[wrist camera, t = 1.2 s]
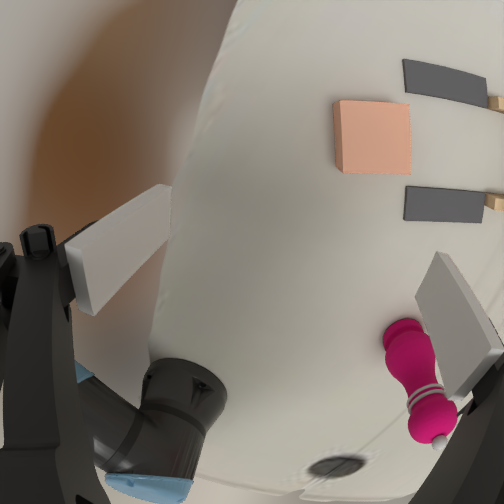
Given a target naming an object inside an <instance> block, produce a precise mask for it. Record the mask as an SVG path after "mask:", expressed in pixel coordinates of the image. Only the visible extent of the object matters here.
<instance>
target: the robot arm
mask: <svg viewBox="0 0 504 504" xmlns="http://www.w3.org/2000/svg"><path fill="white" fill-rule="evenodd" d="M171 197H172V186H167V185H161V184H157V185H155V186H154V187H152V188H151V189H149V190H147V191H145V192H143V193H142V194H140V195H138V196H137V197H135V198H133V199H132V200H130V201H129V202H127V203H125V204H124V205H122V206H121V207H119V208H117V209H116V210H114V211H113V212H111V213H110V214H108V215H107V216H105V217H103V218H102V219H100V220H97V221H95V222H92V223H89V224H88V225H87V226H85V227H83V228H82V229H81V230H79V231H77V232H76V233H75V234H73V235H72V236H70V237H69V238H67V239H66V240H64V241H63V242H61V243H60V244H59V245H57V246H56V241H55V236H54V230H53V227H52V226H51V225H48V224H38V225H33V226H31V227H29V228H26V229H25V230H24V231H22V233H21V234H20V240H21V245H22V249H23V253H24V256H20V255H15V253H14V249H13V245H12V244H11V243H8V242H3V243H2V242H0V390H1V387H2V383H3V380H4V384H3V427H4V446H3V448H1V449H0V504H111V503H110V501H109V498H108V496H107V494H106V492H105V491H104V489H103V487H102V485H101V484H100V481H99V479H98V476H97V473H96V469H95V466H97V467H99V468H100V469H102V470H104V471H105V472H107V474H105V482H106V483H107V484H108V485H109V486H111V487H112V488H114V489H115V490H118V491H120V492H122V493H124V494H127V495H129V496H132V497H135V498H138V499H141V500H145V501H149V502H153V503H159V504H179V503H182V502H183V501H184V500H185V499H186V497H187V495H188V493H189V490H190V488H191V485H192V484H193V482H194V481H193V478H194V475H195V471H196V468H197V464H198V461H199V457H200V454H201V450H202V447H203V443H204V439H205V436H206V433H207V431H208V430H209V429H210V427H211V426H212V425H213V424H214V422H215V421H216V420H217V418H218V417H219V416H220V415H221V413H222V412H223V410H224V407H225V403H226V399H227V393H226V390H225V388H224V386H223V384H222V383H221V382H220V380H219V379H218V378H217V377H216V376H214V375H213V374H212V373H211V372H209V371H208V370H206V369H204V368H202V367H200V366H198V365H196V364H194V363H191V362H188V361H184V360H179V359H162V360H158V361H156V362H154V363H152V364H151V365H150V367H149V368H148V370H147V372H146V374H145V375H144V379H143V385H142V395H141V405H140V408H139V409H137V408H136V407H135V406H133V405H132V404H130V403H129V402H127V401H126V400H125V399H123V398H122V397H120V396H119V395H118V394H117V393H115V392H114V391H113V390H111V389H110V388H109V387H107V386H106V385H105V384H104V383H102V382H101V381H100V380H99V379H98V378H96V377H95V376H94V373H92V372H89V371H88V370H87V369H86V368H84V367H83V366H82V365H80V364H79V363H78V362H77V361H75V360H74V349H73V336H72V316H71V308H70V304H69V303H70V302H71V301H72V300H73V299H74V298H76V302H77V306H78V309H79V310H80V311H82V312H84V313H86V314H89V315H91V316H93V317H94V316H95V315H96V314H97V313H98V312H99V311H100V310H101V309H102V307H103V306H104V305H105V304H106V303H107V302H108V301H109V300H110V299H111V298H112V296H113V295H114V294H115V293H116V292H117V291H118V290H119V289H120V288H121V286H123V285H124V283H125V282H126V281H127V280H128V279H129V278H130V277H131V276H132V275H133V274H134V273H135V272H136V271H137V270H138V269H139V268H140V267H141V266H142V265H143V264H144V262H146V260H148V258H149V257H150V256H151V255H152V254H153V253H154V252H155V251H156V250H157V249H158V248H159V247H160V246H161V245H162V244H163V243H164V242H165V241H166V240H167V239H168V238H169V237H170V218H171ZM415 298H416V301H417V303H418V306H419V309H420V311H421V314H422V317H423V320H424V322H425V325H426V328H427V331H428V334H429V337H430V340H431V343H432V346H433V349H434V352H435V356H436V359H437V362H438V366H439V369H440V373H441V376H442V380H443V384H444V387H445V391H446V395H447V399H448V400H458V401H462V400H463V399H464V398H465V397H466V396H467V395H468V393H469V392H470V391H471V390H472V393H473V398H472V399H471V400H470V401H469V403H468V404H467V405H466V406H465V407H463V408H462V409H461V410H460V411H459V412H458V414H457V415H456V416H457V417H458V416H459V415H460V414H463V415H462V417H461V419H460V421H459V423H458V425H457V427H456V429H455V431H454V433H453V435H452V437H451V438H450V440H449V442H448V444H447V446H446V447H445V449H444V451H443V453H442V454H441V456H440V458H439V459H438V461H437V463H436V464H435V466H434V467H433V469H432V471H431V472H430V474H429V475H428V477H427V478H426V480H425V481H424V483H423V484H422V486H421V487H420V488H419V490H418V491H417V493H416V494H415V496H414V497H413V498H412V499H411V501H410V502H409V503H408V504H504V345H503V343H502V341H501V339H500V337H499V336H498V333H497V331H496V329H494V328H495V327H494V326H493V324H492V322H491V320H490V319H489V318H488V316H487V315H486V313H485V311H484V309H483V308H482V306H481V304H480V302H479V301H478V299H477V297H476V296H475V294H474V293H473V291H472V289H471V288H470V286H469V285H468V283H467V281H466V280H465V278H464V277H463V275H462V274H461V272H460V271H459V269H458V268H457V266H456V265H455V263H454V262H453V261H452V259H451V258H450V256H449V255H448V254H445V253H442V252H438V251H436V253H435V256H434V258H433V260H432V262H431V264H430V267H429V269H428V271H427V273H426V275H425V277H424V279H423V281H422V283H421V285H420V287H419V289H418V291H417V293H416V295H415ZM94 465H95V466H94Z"/></svg>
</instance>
